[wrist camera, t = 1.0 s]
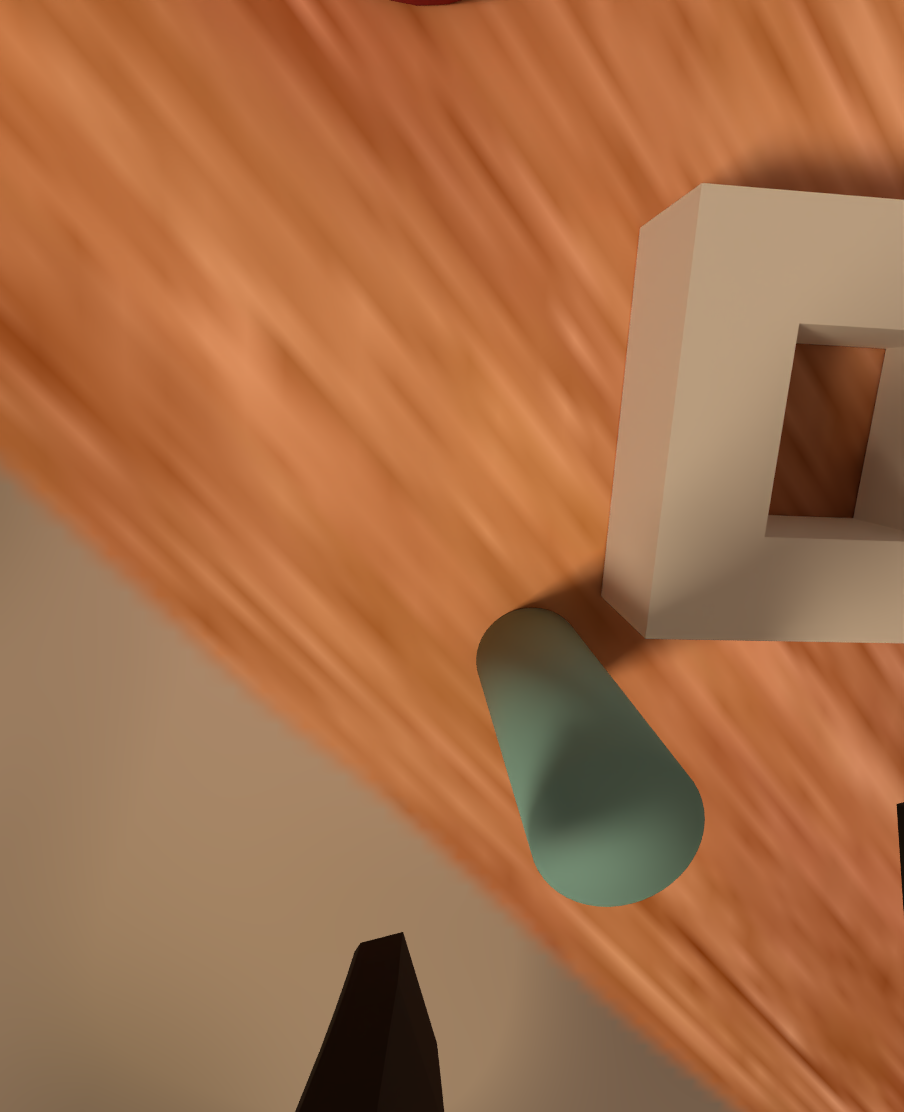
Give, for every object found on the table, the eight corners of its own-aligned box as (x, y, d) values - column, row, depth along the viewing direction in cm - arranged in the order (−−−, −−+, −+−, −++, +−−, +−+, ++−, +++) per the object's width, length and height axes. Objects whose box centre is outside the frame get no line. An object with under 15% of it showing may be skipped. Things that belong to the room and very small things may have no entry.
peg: (586, 608, 19) (716, 749, 11) (576, 707, 20) (691, 904, 12) (479, 606, 19) (537, 749, 11) (473, 707, 19) (523, 908, 12)
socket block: (994, 255, 18) (1137, 219, 14) (916, 603, 20) (1022, 645, 16) (640, 228, 17) (701, 182, 13) (601, 596, 19) (645, 638, 16)
